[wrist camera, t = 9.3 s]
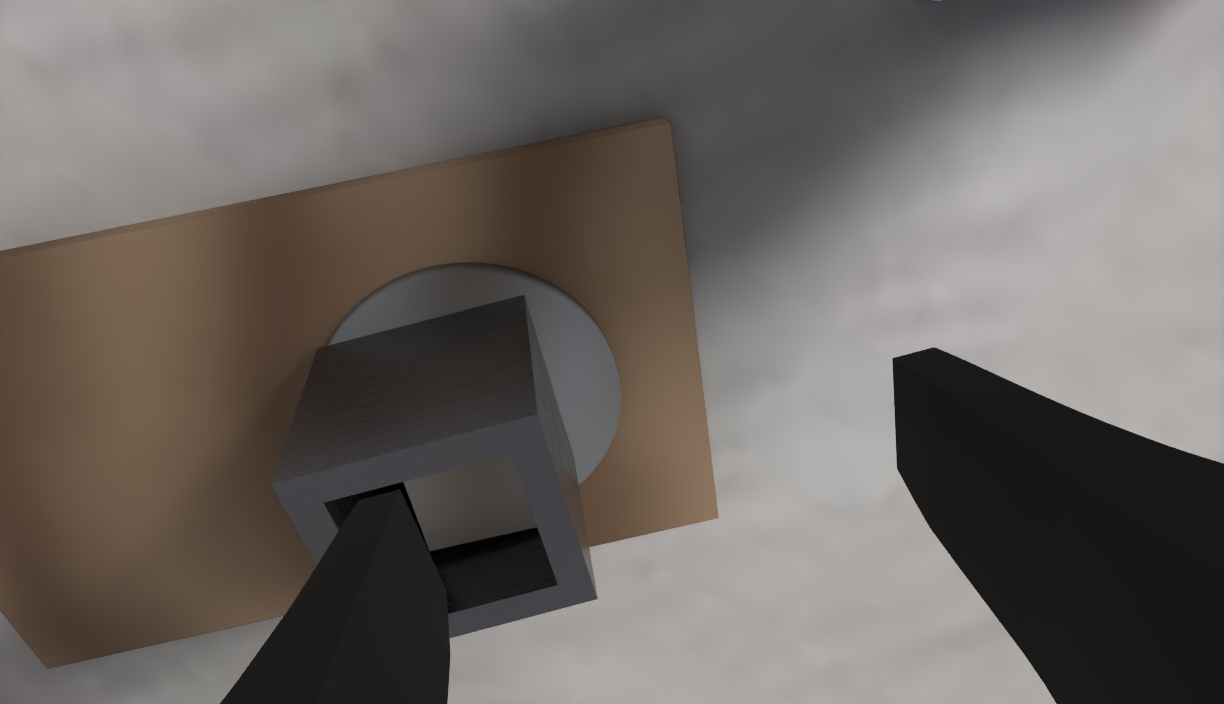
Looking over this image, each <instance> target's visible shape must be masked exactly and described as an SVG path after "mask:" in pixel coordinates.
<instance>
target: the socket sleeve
mask: <svg viewBox="0 0 1224 704" xmlns="http://www.w3.org/2000/svg"><path fill="white" fill-rule="evenodd" d="M507 454H511V455H512V458H513V461H514V464H515V466H516V469H517V472H518V475H519V478H520V480H521V483H522V486H523V489H524V492H525V494H526V497H527V500H528V503H529V505H530V508H531V511H532V514H533V517H534V519H535V522H536V525H537V527H536V528H531V529H527V530H522V531H518V532H513V533H509V534H504V535H500V536H495V537H491V538H486V539H482V540H477V541H473V542H468V543H464V544H459V545H455V546H451V547H446V548H442V549H437V550H433V551H429V548H428V545H427V543H426V540H425V537H424V535H423V532H422V530H421V527H420V524H419V522H418V519H417V516H416V514H415V511H414V509H413V506H412V503H411V501H410V498H409V496H408V493H407V490H406V488H405V485H404V481H408V480H412V479H416V478H419V477H423V476H427V475H431V474H435V473H439V472H442V471H446V470H450V469H454V468H458V467H461V466H465V465H469V464H473V463H477V462H480V461H484V460H488V459H492V458H496V457H500V456H503V455H507ZM271 486H272V488H273V489H274V491H275V493H276V495H277V496H278V498H279V500H280V501H281V503H282V505H283V507H284V508H285V510H286V512H287V514H288V515H289V517H290V519H291V521H292V522H293V524H294V526H295V528H296V529H297V531H298V533H299V535H300V536H301V538H302V540H303V542H304V543H305V545H306V547H307V549H308V550H309V552H310V554H311V556H312V557H313V559H314V561H315V563H316V564H318V563H319V561H320V560H321V558H322V557H323V555H324V553H325V552H326V550H327V549H328V547H329V545H330V544H331V542H332V541H333V539H334V537H335V536H336V534H337V533H338V531H339V529H340V528H341V526H342V525H343V523H344V522H345V520H346V518H347V517H348V515H349V514H350V512H351V511H352V509H353V508H354V506H355V505H356V503H357V502H358V500H362V499H366V498H370V497H374V496H377V495H381V494H385V493H389V492H392V491H396V490H400V491H401V493H402V495H403V497H404V499H405V501H406V503H407V506H408V508H409V510H410V512H411V514H412V516H413V519H414V521H415V523H416V525H417V527H418V529H419V532H420V534H421V536H422V538H423V540H424V542H425V545H426V547H427V549H428V551H429V553H430V555H431V557H432V560H433V562H434V564H435V566H436V568H437V570H438V573H439V575H440V577H441V579H442V581H443V583H444V586H445V588H446V592H447V607H448V621H449V638H452V637H456V636H459V635H463V634H467V633H471V632H475V631H478V630H482V629H486V628H490V627H493V626H497V625H501V624H505V623H508V622H512V621H516V620H520V619H524V618H527V617H531V616H535V615H539V614H542V613H546V612H550V611H554V610H558V609H561V608H565V607H569V606H573V605H576V604H580V603H584V602H588V601H592V600H595V599H598V598H597V592H596V586H595V580H594V574H593V568H592V562H591V556H590V550H589V544H588V538H587V532H586V526H585V520H584V514H583V508H582V502H581V496H580V490H579V484H578V478H577V472H576V466H575V460H574V455H573V452H572V449H571V446H570V442H569V439H568V436H567V433H566V429H565V426H564V423H563V420H562V416H561V413H560V410H559V406H558V403H557V400H556V397H555V393H554V390H553V387H552V384H551V380H550V377H549V374H548V370H547V367H546V364H545V361H544V357H543V354H542V351H541V348H540V344H539V341H538V338H537V335H536V331H535V328H534V325H533V321H532V318H531V315H530V312H529V308H528V305H527V302H526V299H525V295H521V296H517V297H513V298H509V299H505V300H501V301H497V302H494V303H490V304H486V305H482V306H478V307H474V308H470V309H467V310H463V311H459V312H455V313H451V314H447V315H444V316H440V317H436V318H432V319H428V320H424V321H420V322H417V323H413V324H409V325H405V326H401V327H397V328H393V329H390V330H386V331H382V332H378V333H374V334H370V335H366V336H363V337H359V338H355V339H351V340H347V341H343V342H339V343H336V344H332V345H328V346H324V347H320V348H317V351H316V354H315V357H314V360H313V362H312V365H311V368H310V371H309V374H308V377H307V380H306V383H305V386H304V389H303V392H302V394H301V397H300V400H299V403H298V406H297V409H296V412H295V415H294V418H293V421H292V423H291V426H290V429H289V432H288V435H287V438H286V441H285V444H284V447H283V450H282V453H281V455H280V458H279V461H278V464H277V467H276V470H275V473H274V476H273V479H272V482H271Z"/></svg>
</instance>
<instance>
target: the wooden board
mask: <svg viewBox="0 0 1224 704" xmlns="http://www.w3.org/2000/svg"><path fill="white" fill-rule="evenodd" d="M521 295H525V299H526V302H527V305H528V308H529V312H530V315H531V318H532V321H533V325H534V328H535V331H536V335H537V338H538V341H539V344H540V348H541V351H542V354H543V357H544V361H545V364H546V367H547V370H548V374H549V377H550V380H551V384H552V387H553V390H554V393H555V397H556V400H557V403H558V406H559V410H560V413H561V416H562V420H563V423H564V426H565V429H566V433H567V436H568V439H569V442H570V446H571V449H572V452H573V455H574V460H575V466H576V472H577V478H578V484H579V490H580V496H581V502H582V508H583V514H584V520H585V526H586V532H587V538H588V544H589V547H591V546H596V545H600V544H605V543H609V542H614V541H618V540H623V539H627V538H632V537H636V536H640V535H645V534H649V533H654V532H658V531H663V530H667V529H672V528H676V527H680V526H685V525H689V524H694V523H698V522H703V521H707V520H712V519H716V518H719V517H718V509H717V501H716V493H715V484H714V476H713V468H712V460H711V452H710V443H709V435H708V427H707V419H706V410H705V402H704V394H703V386H702V377H701V369H700V361H699V353H698V344H697V336H696V328H695V320H694V312H693V303H692V295H691V287H690V279H689V270H688V262H687V254H686V246H685V237H684V229H683V221H682V213H681V204H680V196H679V188H678V180H677V171H676V163H675V155H674V147H673V139H672V130H671V123H670V122H669V120H668V119H667V118H666V117H663V118H658V119H653V120H648V121H643V122H638V123H633V124H628V125H623V126H618V127H613V128H608V129H603V130H598V131H593V132H588V133H583V134H578V135H573V136H568V137H563V138H558V139H554V140H549V141H544V142H539V143H534V144H529V145H524V146H519V147H514V148H509V149H504V150H499V151H494V152H489V153H484V154H479V155H474V156H469V157H464V158H459V159H454V160H449V161H444V162H440V163H435V164H430V165H425V166H420V167H415V168H410V169H405V170H400V171H395V172H390V173H385V174H380V175H375V176H370V177H365V178H360V179H355V180H350V181H345V182H340V183H335V184H330V185H326V186H321V187H316V188H311V189H306V190H301V191H296V192H291V193H286V194H281V195H276V196H271V197H266V198H261V199H256V200H251V201H246V202H241V203H236V204H231V205H226V206H221V207H216V208H212V209H207V210H202V211H197V212H192V213H187V214H182V215H177V216H172V217H167V218H162V219H157V220H152V221H147V222H142V223H137V224H132V225H127V226H122V227H117V228H112V229H107V230H102V231H98V232H93V233H88V234H83V235H78V236H73V237H68V238H63V239H58V240H53V241H48V242H43V243H38V244H33V245H28V246H23V247H18V248H13V249H8V250H3V251H0V611H1V612H2V613H3V614H4V616H5V617H6V618H7V619H8V621H9V622H10V623H11V624H12V626H13V627H14V628H15V629H16V631H17V632H18V633H19V634H20V635H21V637H22V638H23V639H24V640H25V642H26V643H27V644H28V645H29V647H30V648H31V649H32V650H33V652H34V653H35V654H36V655H37V657H38V658H39V659H40V660H41V662H42V663H43V664H44V665H45V667H46V668H47V669H49V668H53V667H58V666H62V665H67V664H71V663H76V662H80V661H85V660H89V659H93V658H98V657H102V656H107V655H111V654H116V653H120V652H125V651H129V650H133V649H138V648H142V647H147V646H151V645H156V644H160V643H165V642H169V641H173V640H178V639H182V638H187V637H191V636H196V635H200V634H205V633H209V632H214V631H218V630H222V629H227V628H231V627H236V626H240V625H245V624H249V623H254V622H258V621H262V620H267V619H271V618H276V617H280V616H284V615H285V614H286V612H287V611H288V609H289V608H290V606H291V605H292V603H293V602H294V600H295V599H296V597H297V596H298V594H299V593H300V591H301V589H302V588H303V586H304V585H305V583H306V582H307V580H308V579H309V577H310V576H311V574H312V572H313V571H314V569H315V568H316V566H317V564H316V563H315V561H314V559H313V557H312V556H311V554H310V552H309V550H308V549H307V547H306V545H305V543H304V542H303V540H302V538H301V536H300V535H299V533H298V531H297V529H296V528H295V526H294V524H293V522H292V521H291V519H290V517H289V515H288V514H287V512H286V510H285V508H284V507H283V505H282V503H281V501H280V500H279V498H278V496H277V495H276V493H275V491H274V489H273V488H272V486H271V482H272V479H273V476H274V473H275V470H276V467H277V464H278V461H279V458H280V455H281V453H282V450H283V447H284V444H285V441H286V438H287V435H288V432H289V429H290V426H291V423H292V421H293V418H294V415H295V412H296V409H297V406H298V403H299V400H300V397H301V394H302V392H303V389H304V386H305V383H306V380H307V377H308V374H309V371H310V368H311V365H312V362H313V360H314V357H315V354H316V351H317V348H320V347H324V346H328V345H332V344H336V343H339V342H343V341H347V340H351V339H355V338H359V337H363V336H366V335H370V334H374V333H378V332H382V331H386V330H390V329H393V328H397V327H401V326H405V325H409V324H413V323H417V322H420V321H424V320H428V319H432V318H436V317H440V316H444V315H447V314H451V313H455V312H459V311H463V310H467V309H470V308H474V307H478V306H482V305H486V304H490V303H494V302H497V301H501V300H505V299H509V298H513V297H517V296H521ZM404 485H405V488H406V490H407V493H408V496H409V498H410V501H411V503H412V506H413V509H414V511H415V514H416V516H417V519H418V522H419V524H420V527H421V530H422V532H423V535H424V537H425V540H426V543H427V545H428V548H429V551H433V550H437V549H442V548H446V547H451V546H455V545H459V544H464V543H468V542H473V541H477V540H482V539H486V538H491V537H495V536H500V535H504V534H509V533H513V532H518V531H522V530H527V529H531V528H536V527H537V525H536V522H535V519H534V517H533V514H532V511H531V508H530V505H529V503H528V500H527V497H526V494H525V492H524V489H523V486H522V483H521V480H520V478H519V475H518V472H517V469H516V466H515V464H514V461H513V458H512V455H511V454H507V455H503V456H500V457H496V458H492V459H488V460H484V461H480V462H477V463H473V464H469V465H465V466H461V467H458V468H454V469H450V470H446V471H442V472H439V473H435V474H431V475H427V476H423V477H419V478H416V479H412V480H408V481H404Z"/></svg>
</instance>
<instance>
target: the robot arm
mask: <svg viewBox="0 0 1224 704" xmlns="http://www.w3.org/2000/svg"><path fill="white" fill-rule="evenodd" d="M934 1H941V0H934ZM893 380H894V404H895V428H896V452H897V469H898V471H899V473H900V475H901V476H902V478H903V480H904V482H905V484H906V486H907V488H908V489H909V491H910V493H911V495H912V497H913V499H914V501H915V502H916V504H917V506H918V508H919V509H920V511H921V513H922V515H923V516H924V518H925V520H926V521H927V523H928V525H929V527H930V528H931V529H932V531H933V532H934V534H935V535H936V536H937V538H938V539H939V541H940V542H941V543H942V545H943V546H944V547H945V549H946V550H947V551H948V553H949V554H950V555H951V557H952V558H953V560H954V561H955V562H956V564H957V565H958V566H959V568H960V569H961V570H962V572H963V573H964V574H965V576H966V577H967V578H968V580H969V581H970V582H971V584H972V585H973V586H974V588H975V589H976V590H977V592H978V593H979V594H980V596H981V597H982V598H983V600H984V601H985V602H986V604H987V605H988V606H989V608H990V609H991V610H992V612H993V613H994V614H995V616H996V617H997V618H998V620H999V621H1000V622H1001V624H1002V625H1003V626H1004V628H1005V629H1006V630H1007V632H1008V633H1009V634H1010V636H1011V637H1012V638H1013V640H1014V641H1015V642H1016V644H1017V645H1018V646H1019V648H1020V649H1021V650H1022V652H1023V653H1024V654H1025V656H1026V657H1027V659H1028V660H1029V662H1030V663H1031V665H1032V666H1033V668H1034V669H1035V671H1036V672H1037V673H1038V675H1039V676H1040V678H1041V679H1042V681H1043V682H1044V684H1045V685H1046V687H1047V689H1048V690H1049V692H1050V693H1051V695H1052V697H1053V698H1054V700H1055V702H1056V703H1057V704H1224V464H1223V463H1220V462H1216V461H1213V460H1210V459H1207V458H1203V457H1200V456H1197V455H1194V454H1191V453H1187V452H1185V451H1182V450H1179V449H1176V448H1173V447H1170V446H1167V445H1164V444H1161V443H1158V442H1156V441H1153V440H1150V439H1148V438H1145V437H1142V436H1140V435H1137V434H1135V433H1132V432H1129V431H1127V430H1124V429H1121V428H1119V427H1116V426H1113V425H1111V424H1108V423H1106V422H1103V421H1101V420H1098V419H1096V418H1093V417H1091V416H1089V415H1086V414H1084V413H1081V412H1079V411H1076V410H1074V409H1072V408H1069V407H1067V406H1065V405H1062V404H1060V403H1058V402H1055V401H1053V400H1051V399H1049V398H1046V397H1044V396H1042V395H1039V394H1037V393H1035V392H1033V391H1031V390H1028V389H1026V388H1024V387H1022V386H1019V385H1017V384H1015V383H1013V382H1011V381H1009V380H1006V379H1004V378H1002V377H1000V376H998V375H996V374H993V373H991V372H989V371H987V370H985V369H982V368H980V367H978V366H976V365H974V364H972V363H969V362H967V361H965V360H963V359H961V358H958V357H956V356H954V355H951V354H949V353H947V352H944V351H942V350H939V349H937V348H930V349H926V350H922V351H918V352H915V353H911V354H907V355H903V356H900V357H896V358H893ZM449 668H450V641H449V621H448V607H447V592H446V588H445V586H444V583H443V581H442V579H441V577H440V575H439V573H438V570H437V568H436V566H435V564H434V562H433V560H432V557H431V555H430V553H429V551H428V549H427V547H426V545H425V542H424V540H423V538H422V536H421V534H420V532H419V529H418V527H417V525H416V523H415V521H414V519H413V516H412V514H411V512H410V510H409V508H408V506H407V503H406V501H405V499H404V497H403V495H402V493H401V491H400V490H396V491H392V492H389V493H385V494H381V495H377V496H374V497H370V498H366V499H362V500H358V502H357V503H356V505H355V506H354V508H353V509H352V511H351V512H350V514H349V515H348V517H347V518H346V520H345V522H344V523H343V525H342V526H341V528H340V529H339V531H338V533H337V534H336V536H335V537H334V539H333V541H332V542H331V544H330V545H329V547H328V549H327V550H326V552H325V553H324V555H323V557H322V558H321V560H320V561H319V563H318V564H317V566H316V568H315V569H314V571H313V572H312V574H311V576H310V577H309V579H308V580H307V582H306V583H305V585H304V586H303V588H302V589H301V591H300V593H299V594H298V596H297V597H296V599H295V600H294V602H293V603H292V605H291V606H290V608H289V609H288V611H287V612H286V614H285V615H284V617H283V618H282V620H281V621H280V623H279V624H278V625H277V627H276V628H275V630H274V631H273V632H272V634H271V635H270V637H269V638H268V639H267V641H266V642H265V643H264V645H263V646H262V648H261V649H260V650H259V652H258V653H257V655H256V656H255V657H254V659H253V660H252V662H251V663H250V664H249V666H248V667H247V669H246V670H245V671H244V673H243V674H242V676H241V677H240V678H239V680H238V681H237V682H236V684H235V685H234V686H233V688H232V689H231V690H230V691H229V693H228V694H227V695H226V697H225V698H224V699H223V700H222V702H221V703H220V704H447V699H448V684H449Z"/></svg>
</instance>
